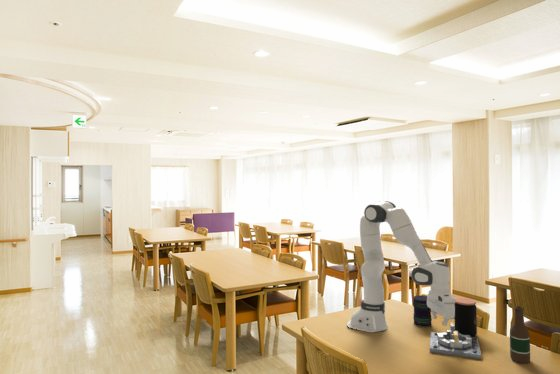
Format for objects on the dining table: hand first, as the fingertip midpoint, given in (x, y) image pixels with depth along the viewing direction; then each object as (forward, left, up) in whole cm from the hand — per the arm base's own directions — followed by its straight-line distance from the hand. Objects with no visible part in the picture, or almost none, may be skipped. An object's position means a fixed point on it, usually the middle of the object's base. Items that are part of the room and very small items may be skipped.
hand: (439, 321), depth 193 cm
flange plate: (+6, 0, -12) cm, 13 cm away
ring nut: (+6, 0, -9) cm, 11 cm away
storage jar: (-10, +28, -12) cm, 32 cm away
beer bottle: (+33, -6, -12) cm, 36 cm away
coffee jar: (+12, +19, -12) cm, 26 cm away
